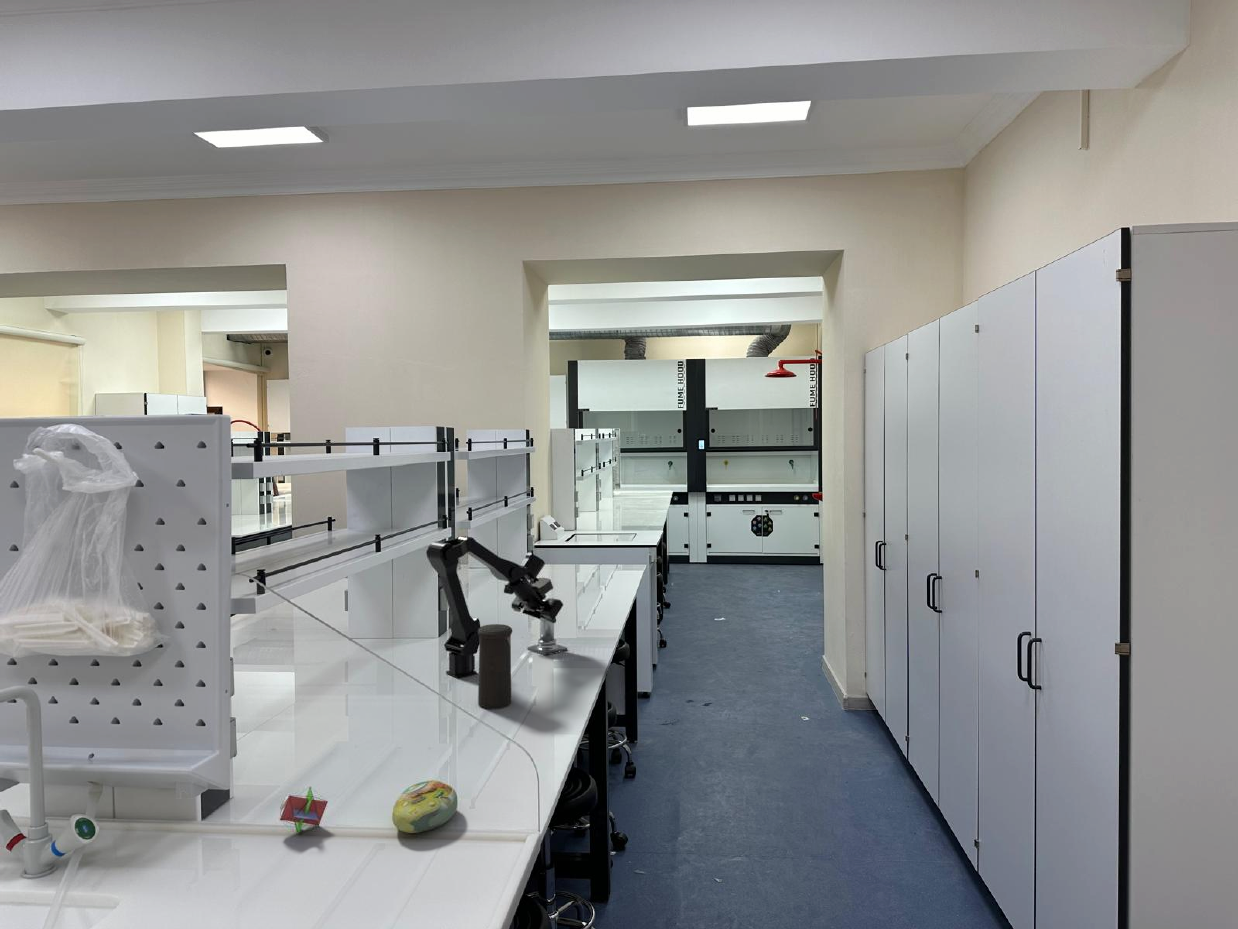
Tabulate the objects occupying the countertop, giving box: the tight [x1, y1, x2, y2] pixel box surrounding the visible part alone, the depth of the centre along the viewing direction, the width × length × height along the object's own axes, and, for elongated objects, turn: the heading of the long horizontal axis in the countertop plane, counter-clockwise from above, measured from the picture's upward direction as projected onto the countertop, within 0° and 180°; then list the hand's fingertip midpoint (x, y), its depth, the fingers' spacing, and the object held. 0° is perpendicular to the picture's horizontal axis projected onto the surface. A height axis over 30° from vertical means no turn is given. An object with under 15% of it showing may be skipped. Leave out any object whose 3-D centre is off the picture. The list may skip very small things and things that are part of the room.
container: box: [477, 623, 513, 710], centre depth 197 cm, size 9×9×20 cm
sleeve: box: [537, 598, 557, 646], centre depth 247 cm, size 6×6×14 cm
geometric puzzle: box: [279, 787, 329, 837], centre depth 134 cm, size 7×7×8 cm
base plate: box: [526, 643, 568, 656], centre depth 247 cm, size 9×9×1 cm
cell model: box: [391, 779, 458, 834], centre depth 138 cm, size 11×8×15 cm
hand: (550, 620), depth 248 cm, fingers closed on sleeve, 4 cm apart
